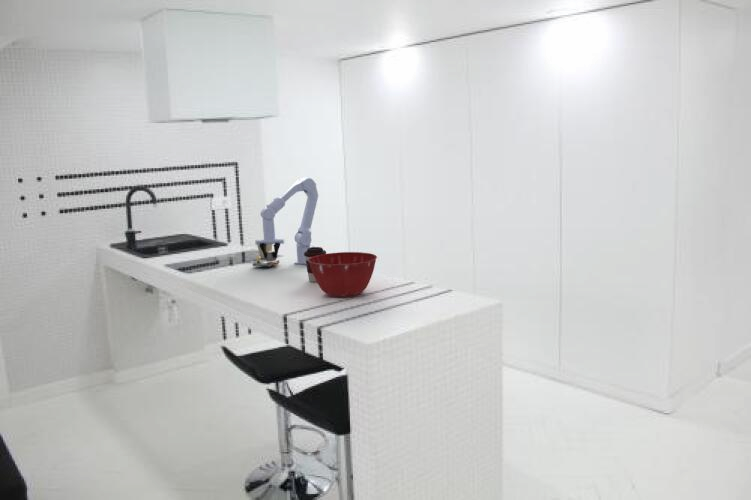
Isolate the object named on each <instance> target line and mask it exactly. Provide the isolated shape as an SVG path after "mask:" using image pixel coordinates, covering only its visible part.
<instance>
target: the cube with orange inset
mask: <svg viewBox="0 0 751 500" xmlns="http://www.w3.org/2000/svg"><path fill="white" fill-rule="evenodd" d="M265 260H266V261H274V260H277V258H275V251H274V250H272V251H268V252H266V258H265Z"/></svg>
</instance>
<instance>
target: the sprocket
mask: <svg viewBox="0 0 751 500" xmlns="http://www.w3.org/2000/svg"><path fill="white" fill-rule="evenodd" d="M279 263H280V260H279V259H276V260H274V261H266V259H261V258H260V255H259V256H256V260H255V261H253V263H252V264H251V265H252V267H258V268H263V267H264V266H268V267H267V268H271V267H272V266H278V265H279ZM270 266H271V267H270Z"/></svg>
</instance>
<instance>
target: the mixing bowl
mask: <svg viewBox="0 0 751 500" xmlns="http://www.w3.org/2000/svg"><path fill="white" fill-rule="evenodd" d="M377 259H378V256H377V255H376V254H373V253H369V252H362V251H361V252H358V251H356V252H355V251H346V252H345V251H344V252H343V251H341V252H340V251H339V252H330V253H326V254H322V255H317V256H314V257H311V258H309V259H308V262H309V263H310V267H311V270H312V272H313V275H314V277H315V279H316V281H317V282H316V283H317V285H318V286H319V288H320V290H321V291H322V292H323V293H325V294H326V295H327V296H329V297H333V298H350V297H355V296H356V297H357V296H358V295H360V294H361V293H362V292H364V291H365V290H366V289H367V288H368V286H369V284H370V281H371V280H372V276H373V273H374V271H375V270H374V269H375V266H376V262H377V261H376V260H377Z"/></svg>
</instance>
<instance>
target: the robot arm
mask: <svg viewBox="0 0 751 500" xmlns="http://www.w3.org/2000/svg"><path fill="white" fill-rule="evenodd" d="M299 192H303V193H304V194H305V195H306V197H307V198H306V201H305V202H306V203H305V206H304V211H303V215H302V219H301V223H300V226H299V228H298V229H297V232H296V234H295V235H294V241H295V243H296V246H295V248H296V257H297V258H296V260H297V261H295V262H294V264H295V265H296V264H297V265H301V264H302V265H306V256H304V252H306V251H307V249H308V248H312V247H315V246H313V245H311V243H312V229H311V228H312V224H313V219H314V216H315V210H316V208H317V204H318V200H319V199H318V198H319V193H318V192H319V191H318V189H317V183H316V182H315V180H313V179H312V178H310V177H304V176H302V177H300V178H299V179H298V180H297V181H295V182H294V183H293V184H292V185H291V186H290V187H289V188H288V189H287V190H286V191H285V192H284V193H283V194H282V196H277V197H274V198H273V199H272V201H271V202H270V203H269V204H267V205H266V207H264V208H262V209H261V210H260V215H259V216H261V218H262V232H263V239H256V240H255V245H257V244H260V248H261V250H262V252H263V254H264V258H265V259H266V244H273V251H275V258H276V259H277V258H278V255H279V249H280V247H281V244H282V245H283V244H285V239H283V238H282V239H281V238H279V239H278V238H277V239H276V230H275V217H276V214H278V213H279V212H280V210H282V209H283V208H284V207H285V206H286V202H287V201H288V200H289V199H291V197H293V196H294V195H295V194H296V193H299ZM270 242H273V243H270Z"/></svg>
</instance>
